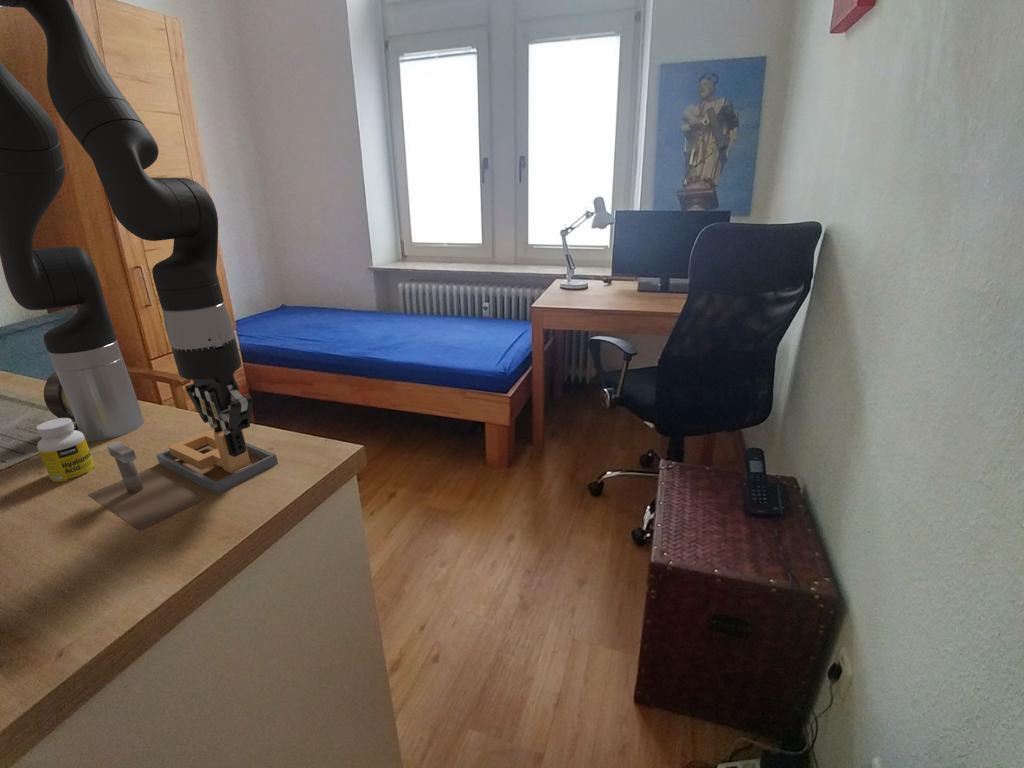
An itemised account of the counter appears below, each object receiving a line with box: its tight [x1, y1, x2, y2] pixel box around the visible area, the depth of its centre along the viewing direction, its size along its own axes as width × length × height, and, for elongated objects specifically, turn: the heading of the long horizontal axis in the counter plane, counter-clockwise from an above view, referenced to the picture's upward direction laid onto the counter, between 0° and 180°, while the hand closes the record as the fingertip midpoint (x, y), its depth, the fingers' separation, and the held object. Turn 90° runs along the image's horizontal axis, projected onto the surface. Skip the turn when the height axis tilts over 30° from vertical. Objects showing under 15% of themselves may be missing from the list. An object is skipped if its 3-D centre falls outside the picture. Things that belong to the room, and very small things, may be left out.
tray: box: [156, 430, 279, 495], centre depth 78 cm, size 17×10×3 cm, turn 58°
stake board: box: [87, 441, 206, 532], centre depth 69 cm, size 16×8×8 cm, turn 58°
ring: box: [167, 429, 252, 474], centre depth 76 cm, size 14×6×6 cm, turn 58°
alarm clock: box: [43, 370, 79, 431], centre depth 93 cm, size 11×5×16 cm, turn 168°
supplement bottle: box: [36, 418, 96, 483], centre depth 75 cm, size 5×5×10 cm
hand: (233, 451), depth 73 cm, fingers closed on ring
